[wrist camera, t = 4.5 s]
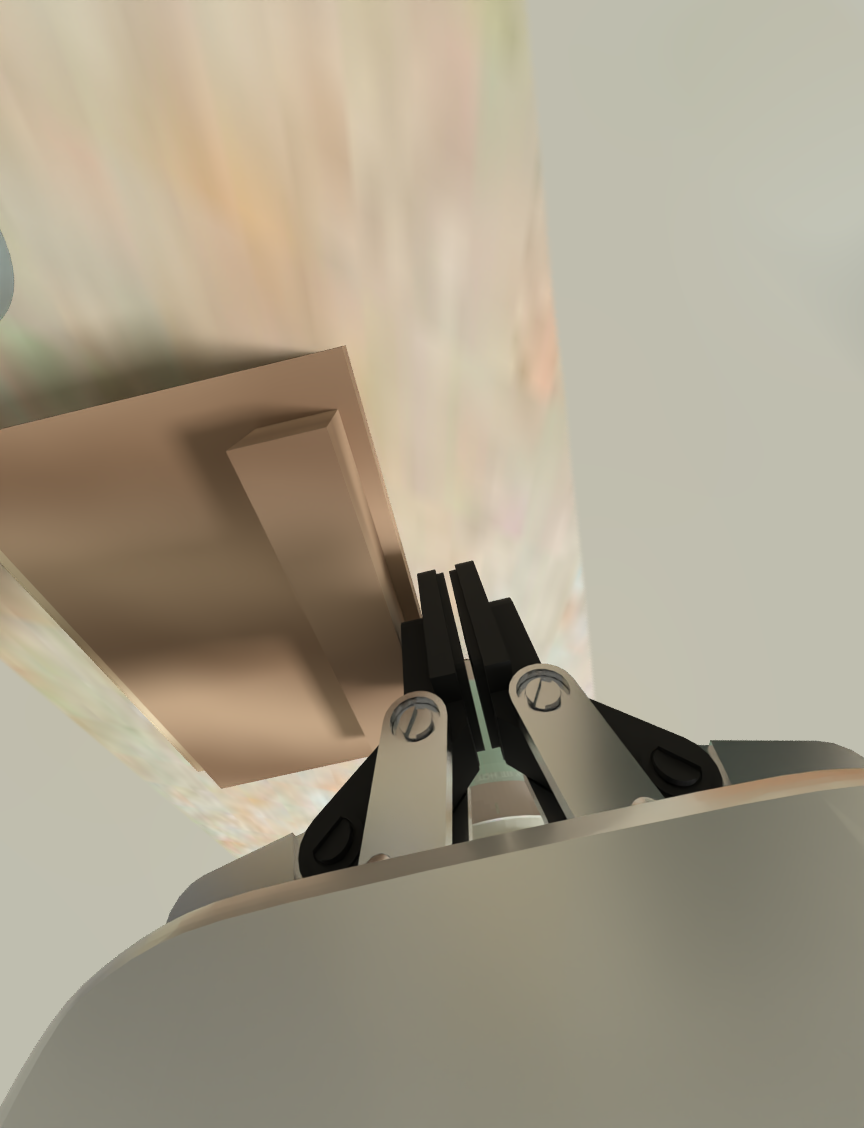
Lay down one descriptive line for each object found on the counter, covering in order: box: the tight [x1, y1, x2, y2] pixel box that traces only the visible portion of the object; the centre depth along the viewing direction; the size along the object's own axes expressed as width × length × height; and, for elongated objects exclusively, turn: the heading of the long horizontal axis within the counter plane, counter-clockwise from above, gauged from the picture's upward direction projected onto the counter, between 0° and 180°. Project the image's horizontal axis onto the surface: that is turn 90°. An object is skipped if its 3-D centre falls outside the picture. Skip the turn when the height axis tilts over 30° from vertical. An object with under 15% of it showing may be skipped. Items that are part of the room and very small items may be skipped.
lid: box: [0, 345, 422, 789], centre depth 12 cm, size 14×10×3 cm
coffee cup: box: [464, 660, 545, 840], centre depth 21 cm, size 9×9×12 cm
